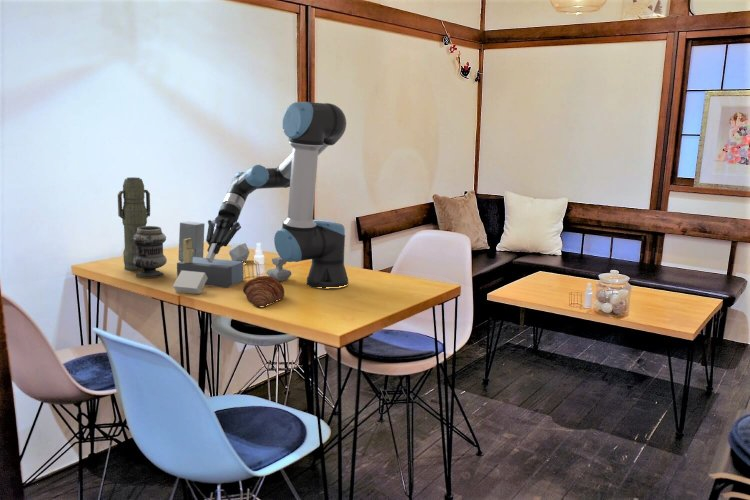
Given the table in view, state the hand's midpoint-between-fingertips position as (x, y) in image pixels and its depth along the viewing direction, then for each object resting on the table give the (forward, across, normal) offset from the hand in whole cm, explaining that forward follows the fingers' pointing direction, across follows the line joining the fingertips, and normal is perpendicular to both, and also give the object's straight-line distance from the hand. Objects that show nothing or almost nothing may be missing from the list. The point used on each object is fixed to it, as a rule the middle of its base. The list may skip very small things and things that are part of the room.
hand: (209, 260), depth 235 cm
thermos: (-2, +38, -14) cm, 41 cm away
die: (-21, +8, -34) cm, 41 cm away
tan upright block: (+1, +8, -1) cm, 9 cm away
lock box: (+3, +2, -9) cm, 10 cm away
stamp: (-5, -20, -18) cm, 27 cm away
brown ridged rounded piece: (+14, -27, +1) cm, 30 cm away
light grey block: (+12, 0, +6) cm, 14 cm away
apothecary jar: (+4, +26, -9) cm, 28 cm away
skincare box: (-18, +28, -30) cm, 44 cm away
